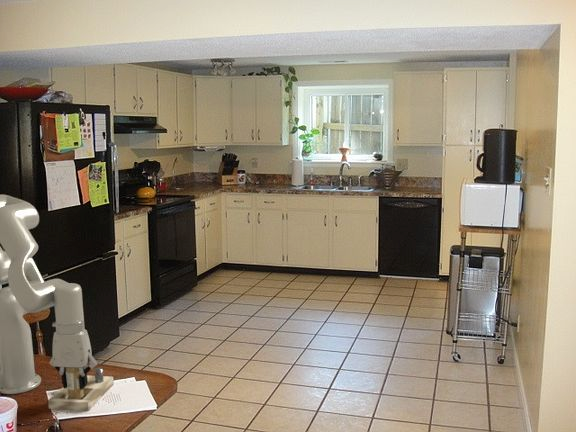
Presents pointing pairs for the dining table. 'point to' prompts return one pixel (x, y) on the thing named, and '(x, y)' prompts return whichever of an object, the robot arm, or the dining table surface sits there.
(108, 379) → the cream square frame
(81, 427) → the dining table surface
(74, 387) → the sprinkles bottle
